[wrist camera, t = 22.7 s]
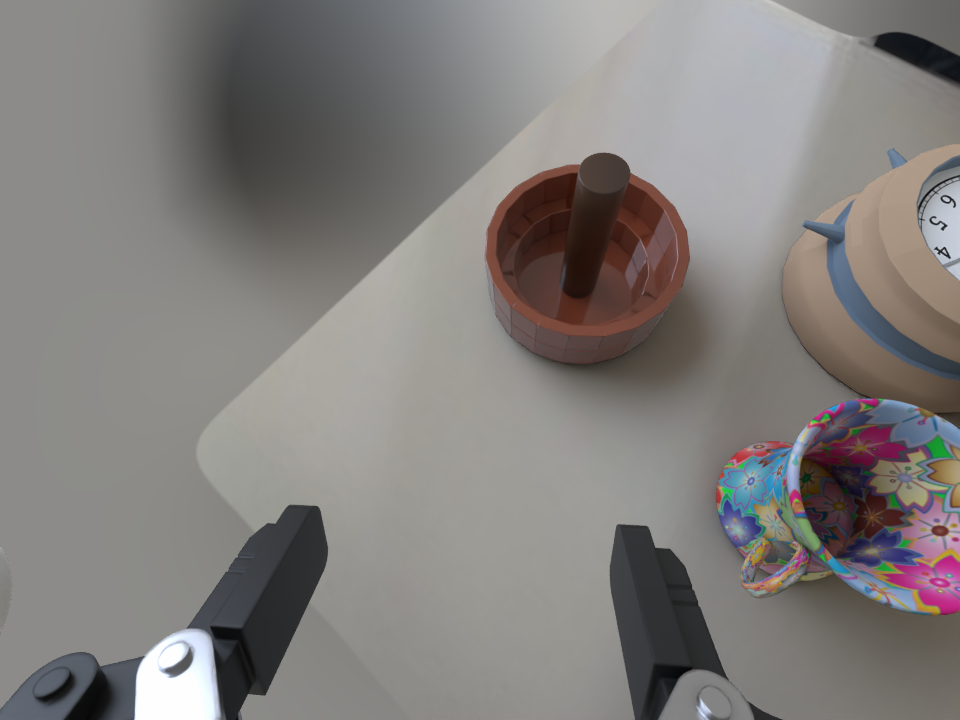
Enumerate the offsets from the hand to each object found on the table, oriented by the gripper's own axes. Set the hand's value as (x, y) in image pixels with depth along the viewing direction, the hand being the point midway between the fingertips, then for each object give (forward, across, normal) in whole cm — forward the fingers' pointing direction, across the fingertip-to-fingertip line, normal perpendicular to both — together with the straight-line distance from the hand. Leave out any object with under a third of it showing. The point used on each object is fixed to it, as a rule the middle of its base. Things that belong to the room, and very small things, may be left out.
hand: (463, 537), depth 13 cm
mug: (+16, -18, +13) cm, 27 cm away
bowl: (+28, -6, +1) cm, 28 cm away
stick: (+27, -6, 0) cm, 28 cm away
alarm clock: (+25, -32, +3) cm, 41 cm away
